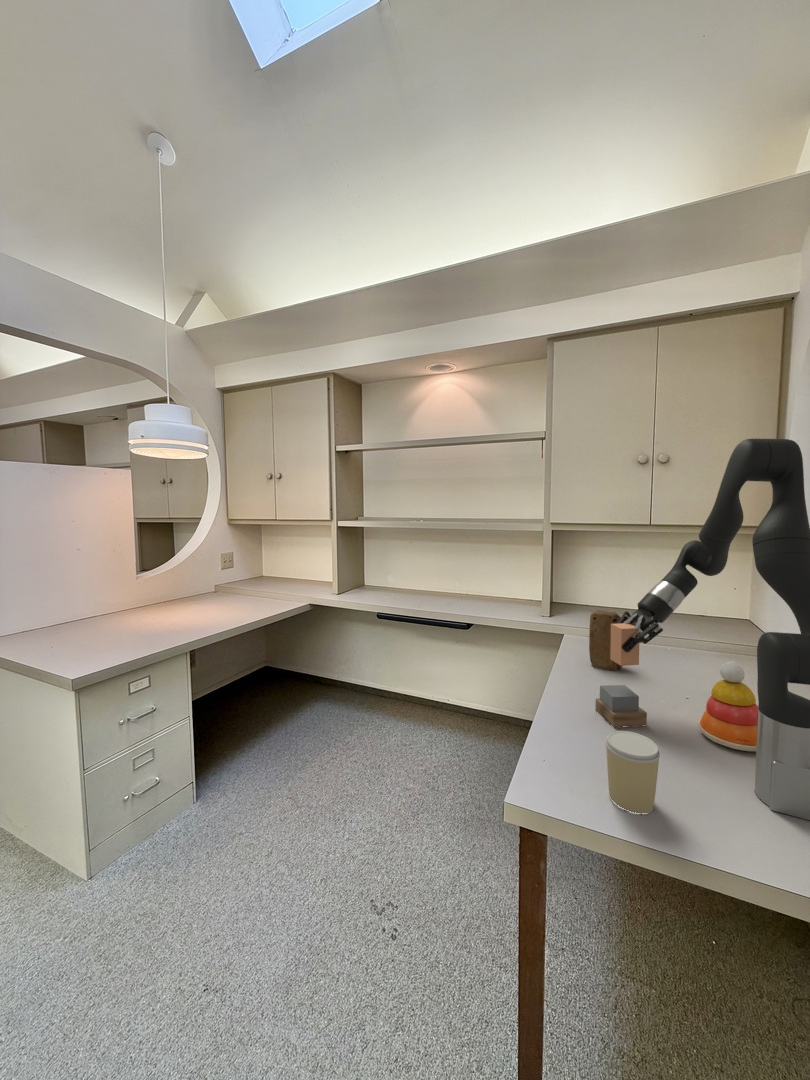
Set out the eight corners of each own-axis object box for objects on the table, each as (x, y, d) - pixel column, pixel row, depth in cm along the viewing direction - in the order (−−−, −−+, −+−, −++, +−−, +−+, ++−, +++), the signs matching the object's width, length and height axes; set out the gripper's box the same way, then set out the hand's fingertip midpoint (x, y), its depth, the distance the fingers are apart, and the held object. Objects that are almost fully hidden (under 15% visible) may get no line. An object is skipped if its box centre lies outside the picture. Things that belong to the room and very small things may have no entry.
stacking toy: (763, 732, 105) (767, 657, 103) (778, 763, 92) (783, 678, 91) (695, 719, 112) (697, 648, 110) (700, 745, 100) (703, 667, 98)
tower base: (646, 727, 109) (646, 712, 109) (613, 729, 108) (613, 714, 108) (625, 710, 118) (626, 697, 118) (595, 712, 117) (595, 698, 117)
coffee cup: (639, 784, 87) (641, 728, 86) (669, 817, 77) (671, 756, 76) (595, 786, 86) (596, 730, 85) (620, 819, 77) (621, 758, 76)
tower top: (638, 711, 110) (638, 696, 109) (612, 711, 110) (612, 697, 109) (624, 698, 117) (624, 685, 116) (599, 699, 117) (599, 685, 116)
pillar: (638, 664, 111) (639, 628, 110) (620, 665, 110) (621, 628, 110) (627, 658, 116) (628, 623, 115) (610, 659, 115) (610, 623, 115)
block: (587, 666, 149) (587, 612, 148) (593, 660, 155) (594, 607, 153) (620, 673, 142) (621, 616, 141) (625, 666, 148) (626, 612, 147)
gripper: (635, 587, 119) (594, 630, 119) (670, 597, 105) (624, 646, 105) (652, 605, 120) (612, 647, 120) (689, 617, 106) (644, 665, 106)
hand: (618, 646), depth 113 cm, fingers closed on pillar, 5 cm apart
